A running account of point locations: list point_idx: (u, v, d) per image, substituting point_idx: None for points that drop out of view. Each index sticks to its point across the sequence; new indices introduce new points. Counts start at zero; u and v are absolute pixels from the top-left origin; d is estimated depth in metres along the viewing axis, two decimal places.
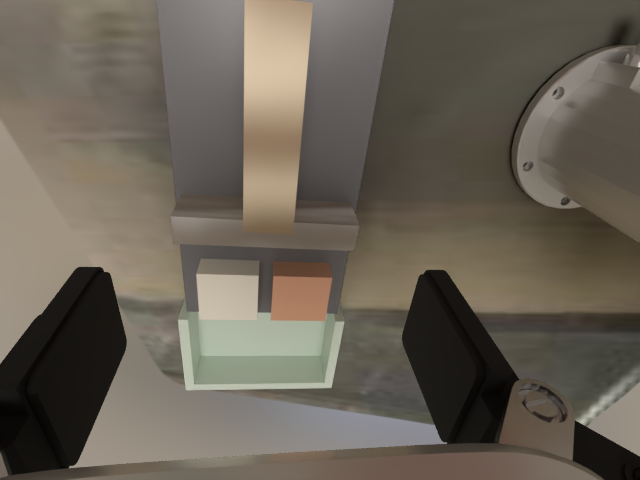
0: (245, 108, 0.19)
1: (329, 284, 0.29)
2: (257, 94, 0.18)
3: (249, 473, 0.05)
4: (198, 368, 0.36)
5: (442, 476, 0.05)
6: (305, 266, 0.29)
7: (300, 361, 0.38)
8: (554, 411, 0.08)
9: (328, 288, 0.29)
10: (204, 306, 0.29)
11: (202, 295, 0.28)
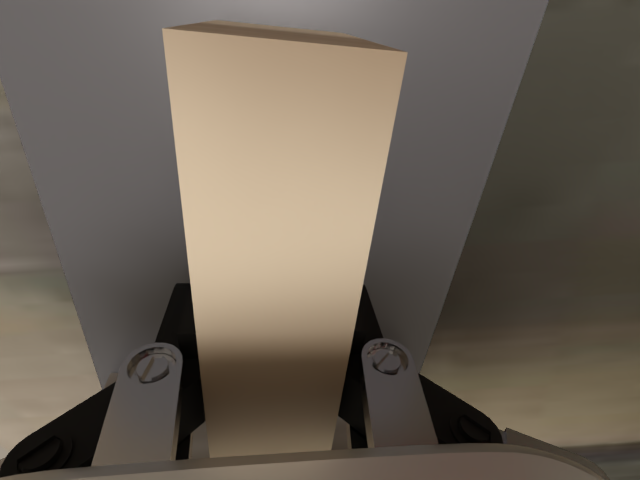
0: (200, 329, 0.07)
1: None
2: (231, 298, 0.07)
3: (249, 473, 0.05)
4: None
5: (442, 477, 0.05)
6: None
7: None
8: (398, 359, 0.09)
9: None
10: None
11: None
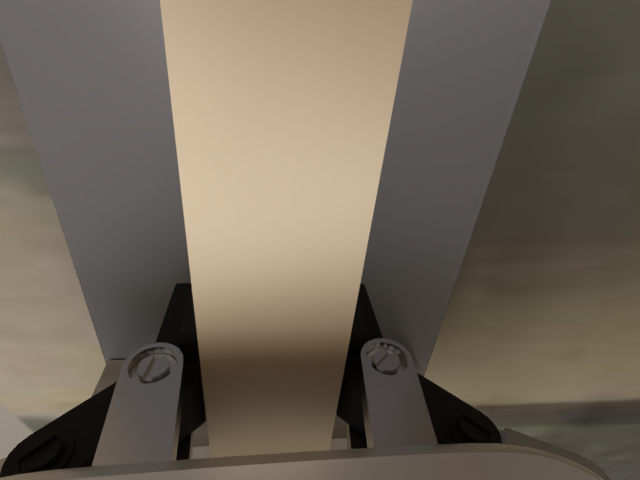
0: (197, 300, 0.07)
1: None
2: (230, 268, 0.06)
3: (249, 473, 0.05)
4: None
5: (442, 477, 0.05)
6: None
7: None
8: (397, 359, 0.09)
9: None
10: None
11: None
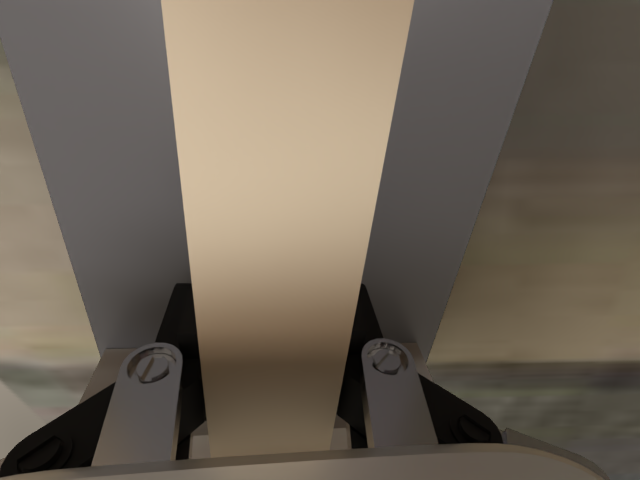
0: (195, 275, 0.06)
1: None
2: (229, 239, 0.06)
3: (249, 473, 0.05)
4: None
5: (442, 477, 0.05)
6: None
7: None
8: (398, 360, 0.09)
9: None
10: None
11: None
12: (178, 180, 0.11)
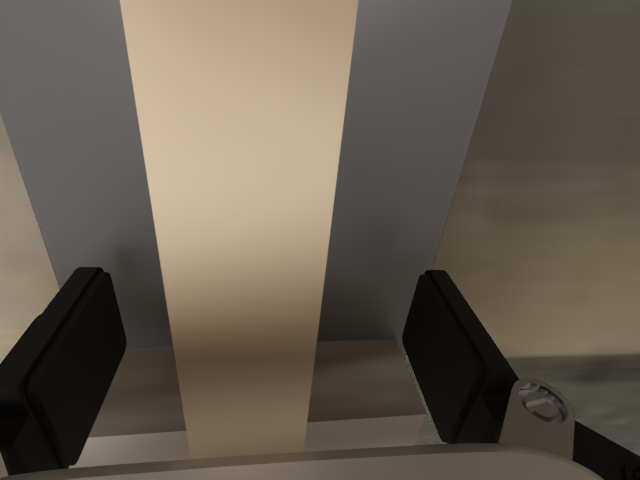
0: (166, 271, 0.07)
1: None
2: (197, 237, 0.06)
3: (249, 473, 0.05)
4: None
5: (442, 477, 0.05)
6: None
7: None
8: (555, 411, 0.08)
9: None
10: None
11: None
12: None
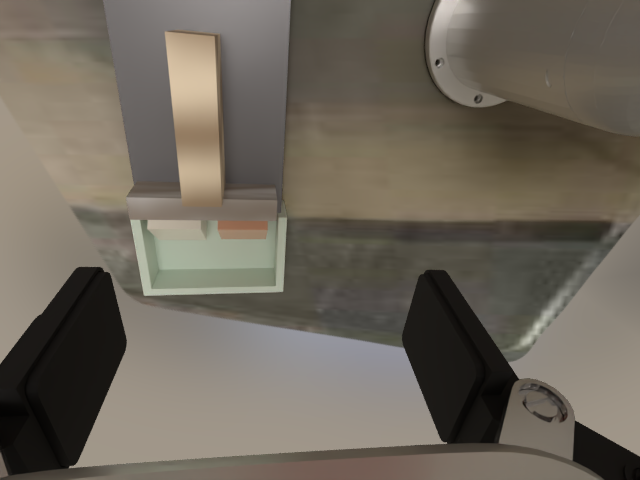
0: (174, 111, 0.25)
1: (266, 231, 0.35)
2: (182, 101, 0.25)
3: (249, 473, 0.05)
4: (156, 278, 0.39)
5: (442, 477, 0.05)
6: None
7: (254, 272, 0.41)
8: (554, 411, 0.08)
9: (265, 232, 0.35)
10: (160, 236, 0.35)
11: (156, 234, 0.34)
12: (167, 102, 0.30)
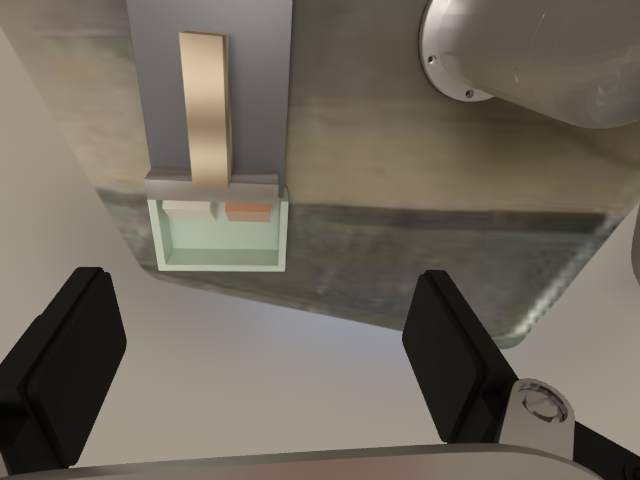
0: (186, 103, 0.29)
1: (268, 213, 0.38)
2: (193, 93, 0.29)
3: (249, 473, 0.05)
4: (170, 255, 0.42)
5: (442, 477, 0.05)
6: None
7: (259, 252, 0.45)
8: (555, 411, 0.08)
9: (268, 214, 0.39)
10: (174, 217, 0.39)
11: (170, 214, 0.38)
12: (181, 94, 0.33)
